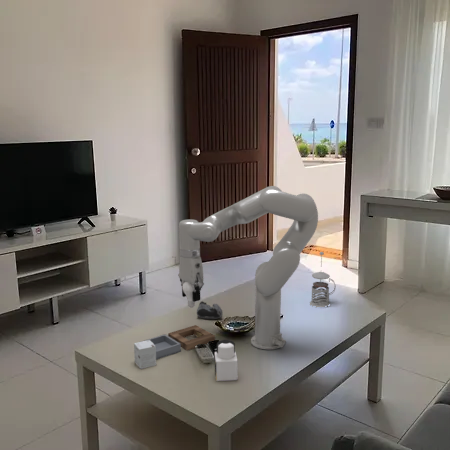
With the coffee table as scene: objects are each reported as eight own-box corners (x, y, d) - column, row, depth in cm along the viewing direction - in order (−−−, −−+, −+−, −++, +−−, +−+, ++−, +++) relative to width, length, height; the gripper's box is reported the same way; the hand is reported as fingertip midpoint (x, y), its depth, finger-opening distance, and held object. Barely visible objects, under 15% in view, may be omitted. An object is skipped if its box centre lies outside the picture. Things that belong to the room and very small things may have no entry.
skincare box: (134, 362, 177) (133, 342, 175) (150, 358, 180) (149, 339, 178) (140, 369, 172) (139, 349, 170) (156, 365, 175) (156, 345, 173)
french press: (308, 300, 238) (310, 248, 233) (333, 301, 236) (335, 249, 231) (309, 307, 228) (311, 254, 223) (335, 308, 227) (337, 255, 222)
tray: (181, 351, 185) (180, 343, 184) (154, 360, 178) (154, 352, 178) (165, 341, 193) (165, 334, 193) (139, 349, 187) (139, 341, 186)
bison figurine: (221, 321, 213) (226, 312, 222) (221, 306, 211) (225, 297, 221) (194, 320, 215) (199, 310, 225) (193, 305, 213) (199, 296, 223)
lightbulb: (197, 310, 188) (196, 282, 186) (181, 309, 189) (180, 281, 187) (201, 304, 194) (200, 277, 192) (185, 303, 195) (184, 276, 193)
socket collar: (214, 341, 193) (214, 335, 193) (186, 350, 185) (186, 344, 185) (195, 330, 203) (195, 325, 203) (168, 339, 195) (168, 333, 195)
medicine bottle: (214, 370, 170) (214, 337, 168) (235, 370, 171) (235, 337, 168) (216, 381, 163) (215, 347, 161) (237, 380, 164) (237, 346, 162)
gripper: (211, 255, 183) (212, 302, 186) (185, 246, 196) (186, 290, 200) (194, 259, 178) (196, 307, 182) (169, 250, 192) (170, 294, 195)
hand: (191, 298), depth 191 cm, fingers closed on lightbulb, 6 cm apart
